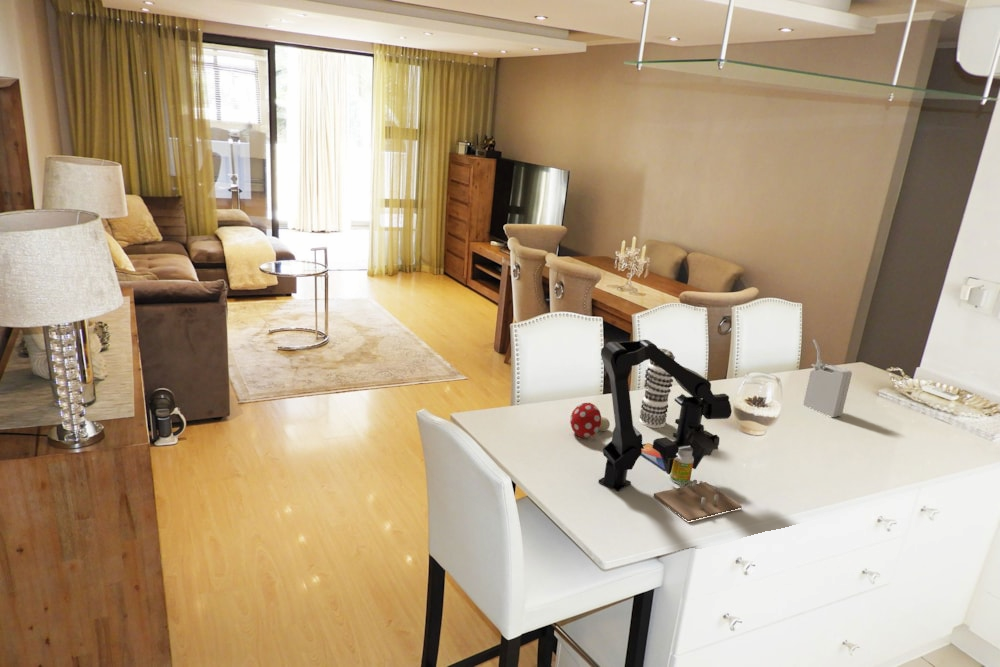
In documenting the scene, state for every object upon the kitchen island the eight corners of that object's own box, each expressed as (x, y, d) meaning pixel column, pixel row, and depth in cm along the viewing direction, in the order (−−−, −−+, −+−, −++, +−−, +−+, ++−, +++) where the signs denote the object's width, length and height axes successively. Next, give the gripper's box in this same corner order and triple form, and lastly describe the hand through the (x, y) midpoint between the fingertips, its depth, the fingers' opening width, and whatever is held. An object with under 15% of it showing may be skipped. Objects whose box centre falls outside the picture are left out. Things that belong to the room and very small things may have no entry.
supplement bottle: (676, 485, 180) (681, 453, 177) (666, 475, 185) (671, 443, 182) (693, 484, 181) (699, 451, 178) (683, 474, 186) (688, 443, 183)
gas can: (796, 402, 249) (810, 338, 242) (805, 400, 251) (820, 337, 244) (832, 418, 236) (848, 351, 229) (841, 416, 238) (857, 350, 231)
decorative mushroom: (612, 400, 212) (582, 393, 202) (626, 429, 206) (597, 423, 196) (588, 420, 217) (558, 413, 207) (601, 449, 211) (571, 443, 201)
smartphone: (664, 473, 187) (665, 470, 187) (630, 449, 199) (631, 446, 199) (684, 469, 190) (684, 465, 190) (649, 446, 203) (649, 442, 203)
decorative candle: (669, 429, 215) (681, 356, 208) (640, 427, 215) (651, 354, 208) (663, 418, 224) (674, 347, 217) (635, 415, 224) (646, 345, 217)
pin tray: (687, 523, 162) (690, 508, 161) (653, 496, 173) (655, 483, 172) (741, 509, 170) (744, 495, 169) (705, 485, 181) (707, 472, 180)
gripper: (684, 436, 167) (674, 491, 171) (738, 426, 175) (727, 479, 180) (655, 418, 176) (647, 471, 180) (707, 410, 184) (698, 461, 189)
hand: (681, 471), depth 182 cm, fingers open, 9 cm apart
